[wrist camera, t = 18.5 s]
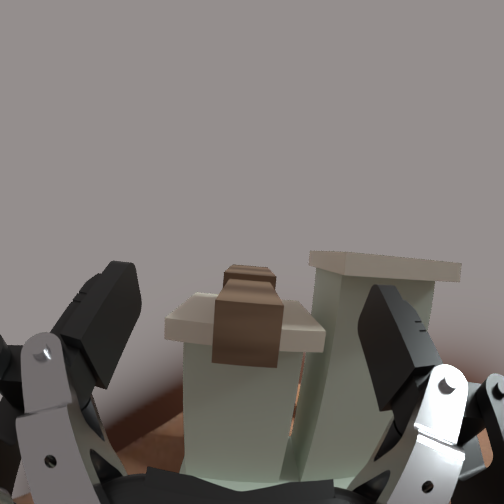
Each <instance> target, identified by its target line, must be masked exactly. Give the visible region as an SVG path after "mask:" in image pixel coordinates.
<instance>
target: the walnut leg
mask: <svg viewBox="0 0 504 504" xmlns="http://www.w3.org/2000/svg"><path fill="white" fill-rule="evenodd" d="M275 286H276V276H275V275H274V274H273V273H272V272H271V271H270V270H269V269H268V268H267V267H256V266H244V265H232V266H230V267H229V268H228V269H227V270H226V271H225V272H224V280H223V289H222V291H221V292H220V294H219V295H218V296H217V298H216V299H215V310H214V326H213V343H212V362H211V363H218V364H228V365H239V366H251V367H266V368H277V363H278V355H279V347H280V339H281V330H282V321H283V312H284V304H283V303H282V301H281V299H280V298H279V296H278V295H277V293H276V291H275Z"/></svg>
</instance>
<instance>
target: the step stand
mask: <svg viewBox="0 0 504 504" xmlns="http://www.w3.org/2000/svg"><path fill="white" fill-rule="evenodd" d="M309 266H313V267H316V276H315V286H314V295H313V305H312V312H311V314H310V313H309V312H308V311H307V310H306V309H305V308H304V307H303V306H302V305H301V304H300V303H299V301H293V300H281V301H282V303H283V304H284V312H283V321H282V330H281V339H280V347H279V355H278V363H277V368H266V367H251V366H239V365H228V364H218V363H211V362H212V343H213V326H214V310H215V299H216V298H217V296H218V295H219V294H208V293H199V292H196V293H195V294H194V295H192V296H191V297H190V298H189V299H187V300H186V301H185V302H184V303H182V304H181V305H180V306H179V307H178V308H176V309H175V310H174V311H173V312H171V313H170V314H169V315H168V316H167V317H165V339H166V340H173V341H180V342H184V352H183V416H184V446H185V456H184V459H183V462H182V465H181V468H180V472H179V473H180V474H186V475H192V476H195V477H197V478H200V479H203V480H205V481H208V482H211V483H214V484H217V485H220V486H223V487H226V488H229V489H232V490H236V491H249V490H254V489H260V488H265V487H270V486H275V485H279V484H283V483H287V482H303V481H318V480H329V479H333V481H334V487H339V488H343V489H347V487H348V486H349V484H350V483H351V482H352V480H353V479H354V478H355V477H356V475H357V474H358V473H359V472H360V471H361V470H362V469H363V468H364V467H365V465H366V464H367V462H368V461H369V459H370V457H371V455H372V454H373V452H374V450H375V448H376V446H377V444H378V443H379V441H380V439H381V437H382V435H383V433H384V431H385V429H386V427H387V425H388V423H389V421H390V419H391V418H392V417H393V416H394V415H393V411H392V410H389V411H382V412H380V411H379V407H378V403H377V399H376V395H375V392H374V388H373V384H372V380H371V377H370V373H369V370H368V366H367V363H366V359H365V356H364V352H363V349H362V346H361V342H360V339H359V336H358V330H357V327H358V320H359V317H360V314H361V312H362V309H363V307H364V304H365V302H366V299H367V297H368V294H369V291H370V289H371V287H372V286H373V285H374V284H379V285H394V286H395V287H396V288H397V290H398V291H399V293H400V295H401V297H402V298H403V300H406V301H407V302H408V303H409V304H410V305H411V306H412V307H413V308H414V309H415V310H416V311H417V313H418V315H419V317H420V319H421V320H422V322H421V323H423V324H424V326H425V328H426V332H427V330H428V325H429V319H430V314H431V307H432V300H433V294H434V293H433V292H434V284H435V281H445V282H460V274H461V263H453V262H444V261H434V260H425V259H415V258H405V257H394V256H384V255H374V254H364V253H353V252H335V251H310V256H309ZM303 352H306V356H305V363H304V369H303V375H302V381H301V387H300V393H299V399H298V404H297V409H296V415H295V420H294V425H293V430H292V435H291V436H289V432H290V427H291V421H292V416H293V411H294V405H295V400H296V394H297V388H298V382H299V376H300V370H301V363H302V357H303Z"/></svg>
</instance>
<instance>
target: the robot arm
mask: <svg viewBox="0 0 504 504" xmlns="http://www.w3.org/2000/svg"><path fill="white" fill-rule="evenodd" d="M141 305H142V302H141V295H140V290H139V284H138V279H137V273H136V268H135V265H134V264H133V263H129V262H120V261H111V262H110V263H109V265H108V266H107V267H106V268H105V270H104V271H103V272H102V274H99V273H98V274H97V275H95V276H94V277H92V278H91V279H89V280H88V281H87V282H86V283H85V284H84V285H83V287H82V288H81V290H80V291H79V294H78V293H77V295H76V296H75V298H74V299H73V302H71V303H70V304H69V306H68V307H67V309H66V310H65V311H64V313H63V314H62V316H61V317H60V319H59V320H58V321H57V323H56V324H55V326H54V327H53V329H52V330H51V332H50V333H47V332H44V333H39V334H36V335H34V336H32V337H31V338H30V339H28V340H27V341H26V343H25V344H24V346H23V345H21V346H20V345H7V344H6V343H5V341H4V340H3V338H2V336H1V335H0V393H1V395H2V396H3V397H2V399H1V401H0V504H16V503H15V502H13V500H12V498H11V496H12V492H13V487H14V483H15V479H16V475H17V472H18V468H19V464H20V461H21V458H22V462H23V466H24V470H25V474H26V478H27V482H28V485H29V488H30V492H31V495H32V498H33V501H34V504H449V502H450V499H451V504H504V377H503V376H502V375H500V374H491V375H490V376H489V377H488V378H487V379H486V380H485V381H484V382H483V383H482V384H477V383H471V382H466V379H465V378H464V376H463V375H462V373H461V372H460V371H459V370H457V369H456V368H454V367H452V366H450V365H444V364H443V362H442V360H441V358H440V356H439V354H438V352H437V350H436V348H435V346H434V344H433V342H432V340H431V338H430V336H429V334H428V332H426V328H425V326H424V324H423V323H421V322H422V320H421V319H420V317H419V315H418V313H417V311H416V310H415V309H414V308H413V307H412V306H411V305H410V304H409V303H408V302H407V301H406V300H403V298H402V297H401V295H400V293H399V291H398V290H397V288H396V287H395V286H394V285H379V284H374V285H373V286H372V287H371V289H370V291H369V294H368V297H367V299H366V302H365V304H364V307H363V309H362V312H361V314H360V317H359V320H358V327H357V330H358V336H359V339H360V342H361V346H362V349H363V352H364V356H365V359H366V363H367V366H368V370H369V373H370V377H371V380H372V384H373V388H374V392H375V395H376V399H377V403H378V407H379V411H380V412H382V411H389V410H392V411H393V415H394V416H393V417H392V418H391V419H390V421H389V423H388V425H387V427H386V429H385V431H384V433H383V435H382V437H381V439H380V441H379V443H378V444H377V446H376V448H375V450H374V452H373V454H372V455H371V457H370V459H369V461H368V462H367V464H366V465H365V467H364V468H363V469H362V470H361V471H360V472H359V473H358V474H357V475H356V477H355V478H354V479H353V480H352V482H351V483H350V484H349V486H348V487H347V489H343V488H339V487H334V481H333V479H329V480H318V481H303V482H287V483H283V484H279V485H275V486H270V487H265V488H260V489H254V490H249V491H236V490H232V489H229V488H226V487H223V486H220V485H217V484H214V483H211V482H208V481H205V480H203V479H200V478H197V477H195V476H192V475H186V474H180V473H175V472H170V471H165V470H161V469H156V468H152V467H147V472H146V474H132V475H127V472H126V470H125V468H124V466H123V465H122V463H121V461H120V459H119V458H118V456H117V454H116V453H115V452H114V450H113V448H112V447H111V445H110V442H109V440H108V438H107V435H106V432H105V430H104V427H103V424H102V422H101V419H100V416H99V413H98V410H97V407H96V404H95V401H94V398H93V396H92V391H93V389H94V386H97V387H100V388H103V389H107V388H108V385H109V383H110V380H111V378H112V375H113V373H114V371H115V368H116V366H117V364H118V361H119V359H120V357H121V355H122V352H123V350H124V348H125V346H126V343H127V341H128V339H129V337H130V335H131V332H132V330H133V328H134V326H135V324H136V322H137V319H138V318H139V315H140V312H141ZM485 428H486V430H487V433H488V437H489V440H490V444H491V447H492V451H493V460H492V463H491V464H490V466H489V467H488V468H486V467H485V465H484V461H483V457H482V453H481V449H480V445H479V441H478V438H477V434H479V433H480V432H481V431H482V430H484V429H485Z"/></svg>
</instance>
